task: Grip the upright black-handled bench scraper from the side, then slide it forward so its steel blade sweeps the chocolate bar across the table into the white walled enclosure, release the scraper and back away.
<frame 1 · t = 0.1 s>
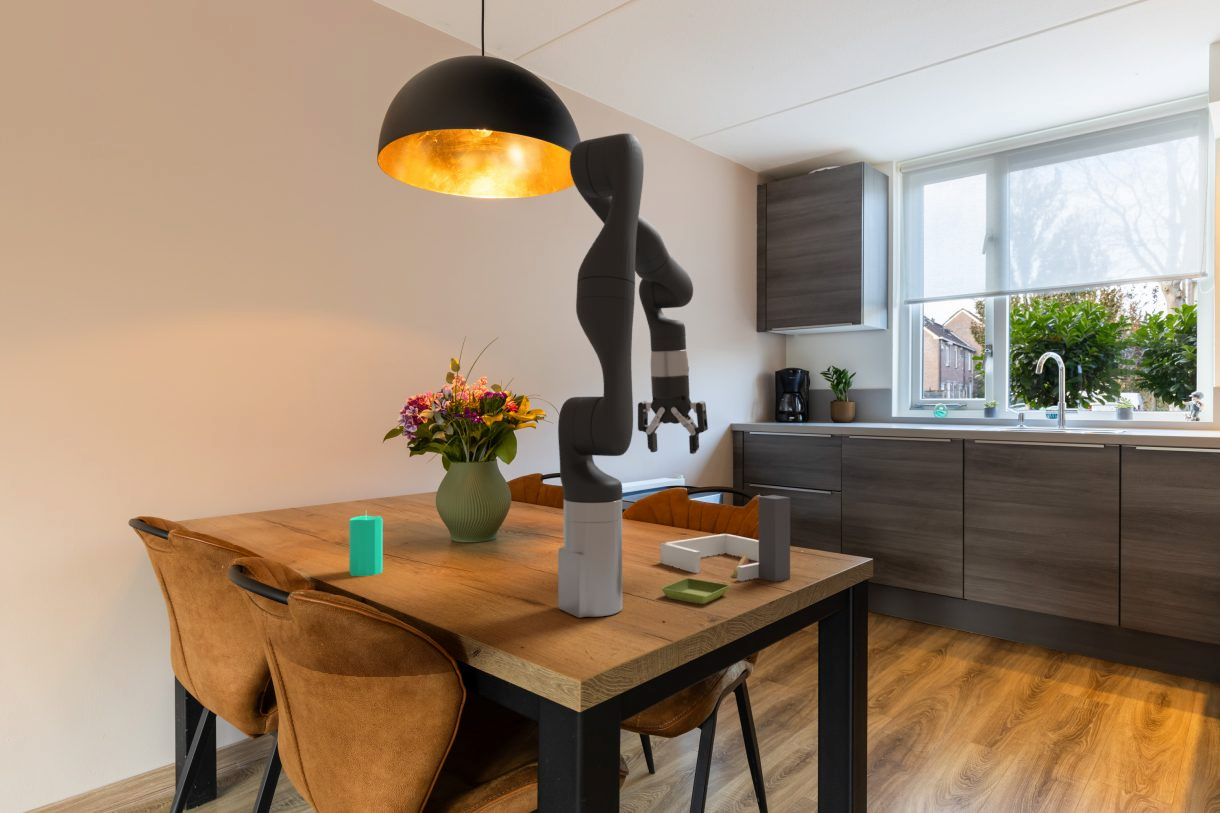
hand: (673, 452, 141), 22 cm above the table, tool pointing down, fingers open, 8 cm apart
chocolate bar: (740, 572, 134), on the table
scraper: (774, 578, 127), on the table
white walled enclosure: (711, 561, 141), on the table
green square dish: (695, 600, 115), on the table
candle: (366, 573, 132), on the table
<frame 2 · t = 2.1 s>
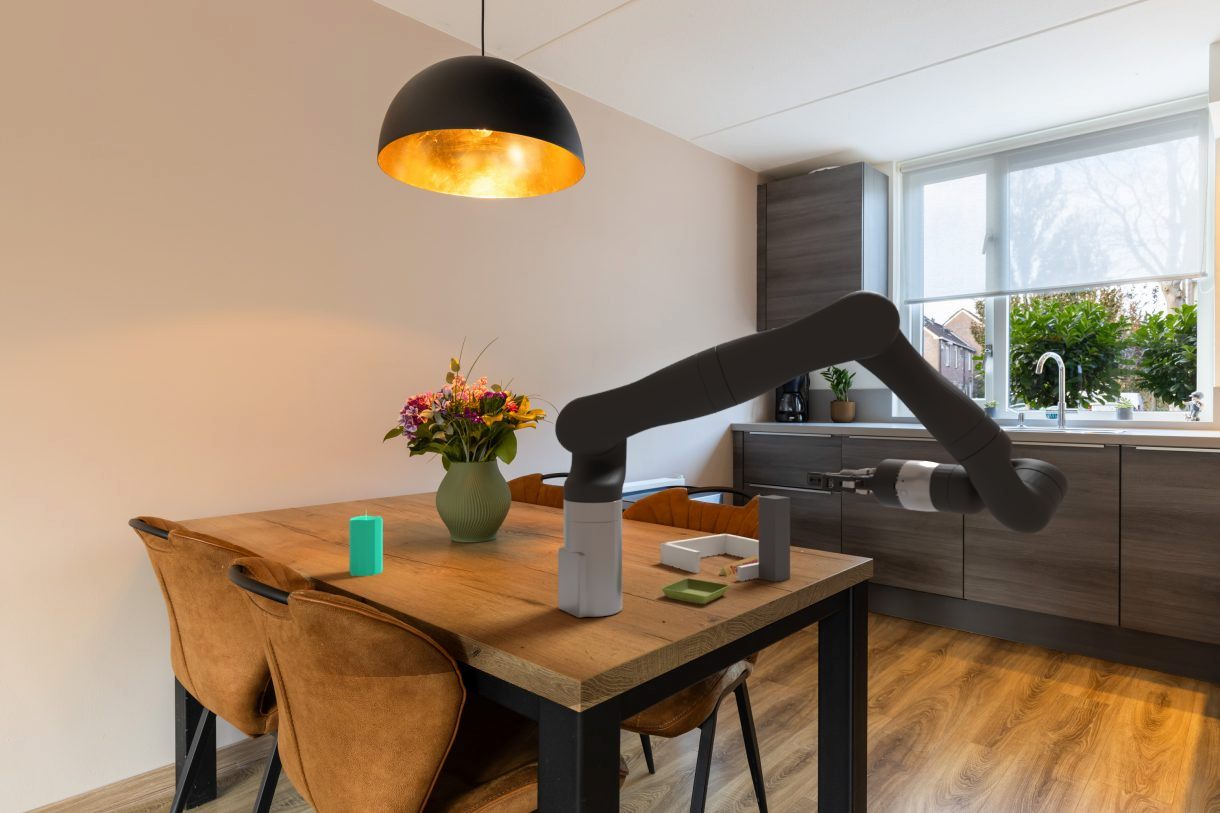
hand: (824, 476, 118), 20 cm above the table, tool horizontal, fingers open, 8 cm apart
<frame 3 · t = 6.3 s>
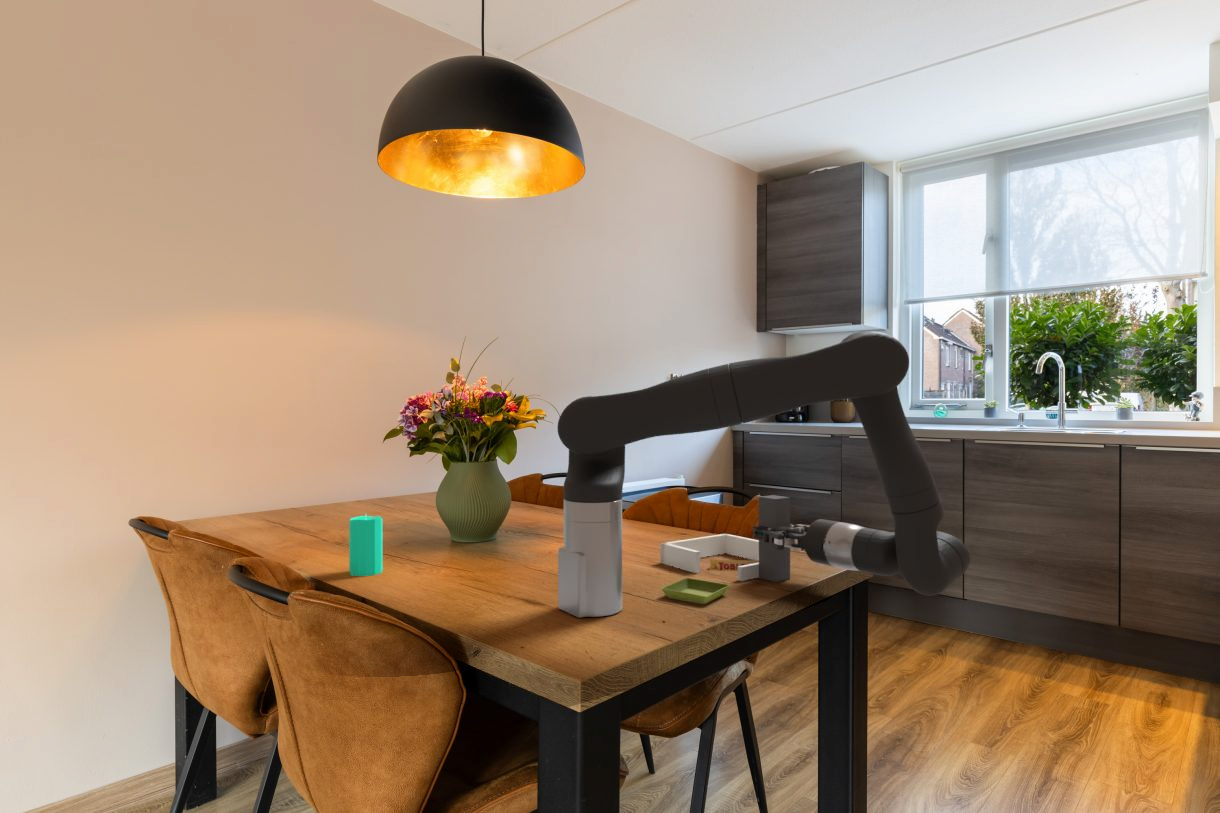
hand: (762, 529, 130), 9 cm above the table, tool horizontal, fingers closed on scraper, 4 cm apart
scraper: (774, 578, 127), on the table, touching gripper
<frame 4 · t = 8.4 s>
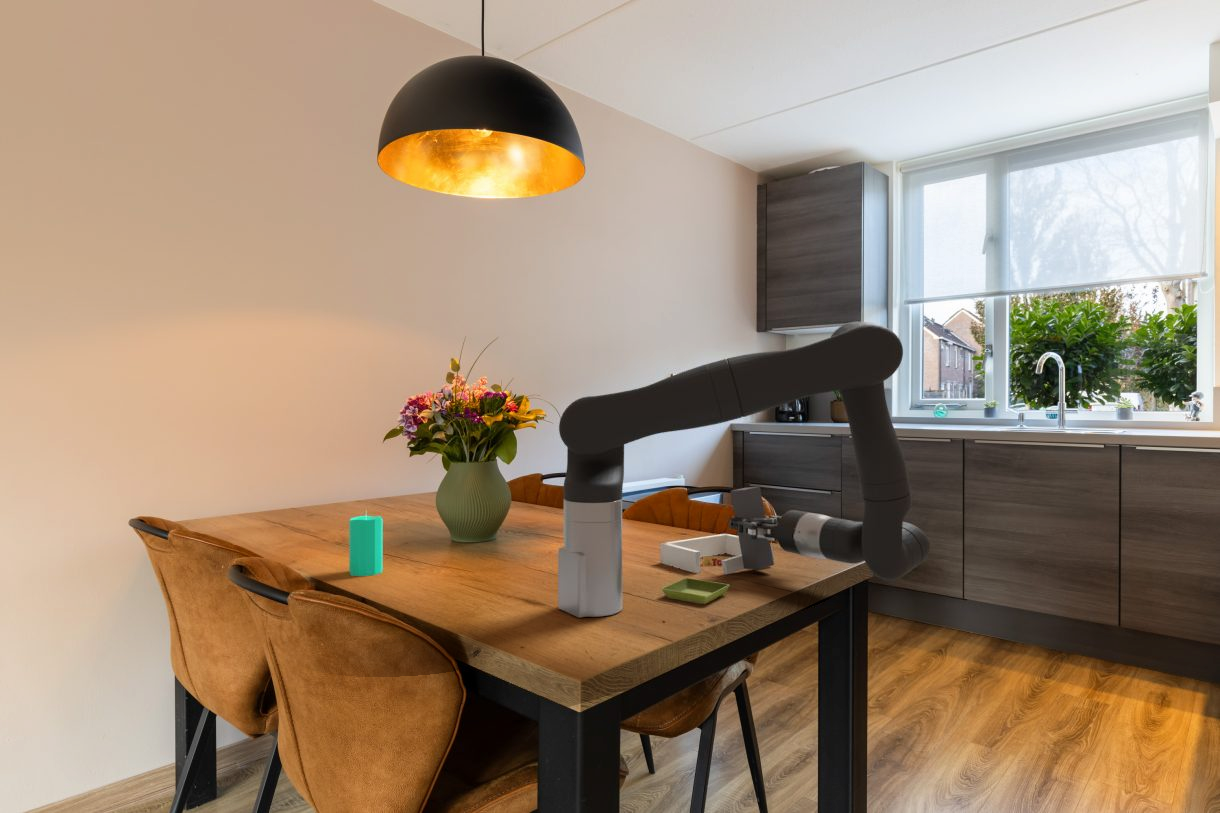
hand: (739, 521, 135), 9 cm above the table, tool horizontal, fingers closed on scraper, 4 cm apart
chocolate bar: (733, 569, 138), on the table
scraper: (759, 566, 131), point 1 cm above the table, tilted 10°, touching gripper
everything else where it was.
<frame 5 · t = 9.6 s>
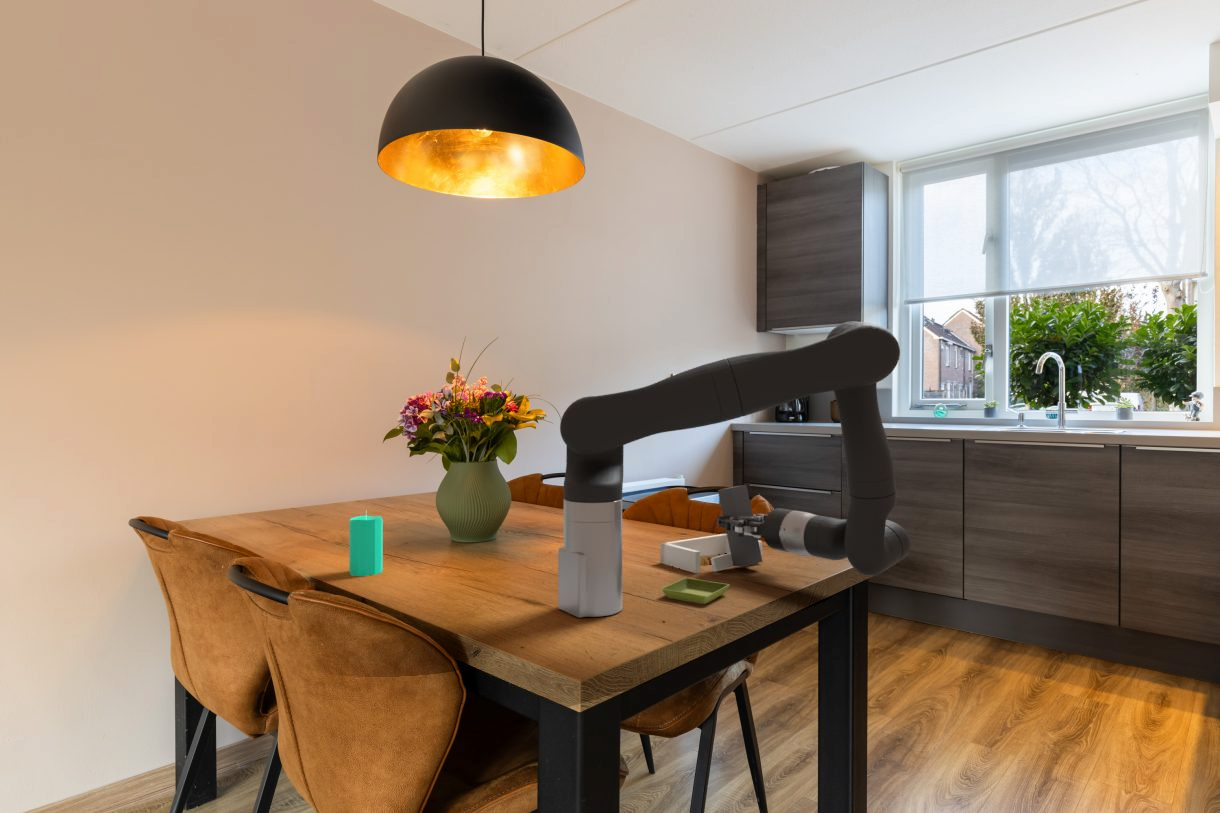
hand: (727, 519, 137), 9 cm above the table, tool horizontal, fingers closed on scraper, 4 cm apart
chocolate bar: (727, 566, 139), on the table
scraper: (747, 563, 134), point 1 cm above the table, tilted 13°, touching gripper
everything else where it was.
when the fingers open (9 cm above the table, at t = 10.5 s): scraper stays where it is, on the table.
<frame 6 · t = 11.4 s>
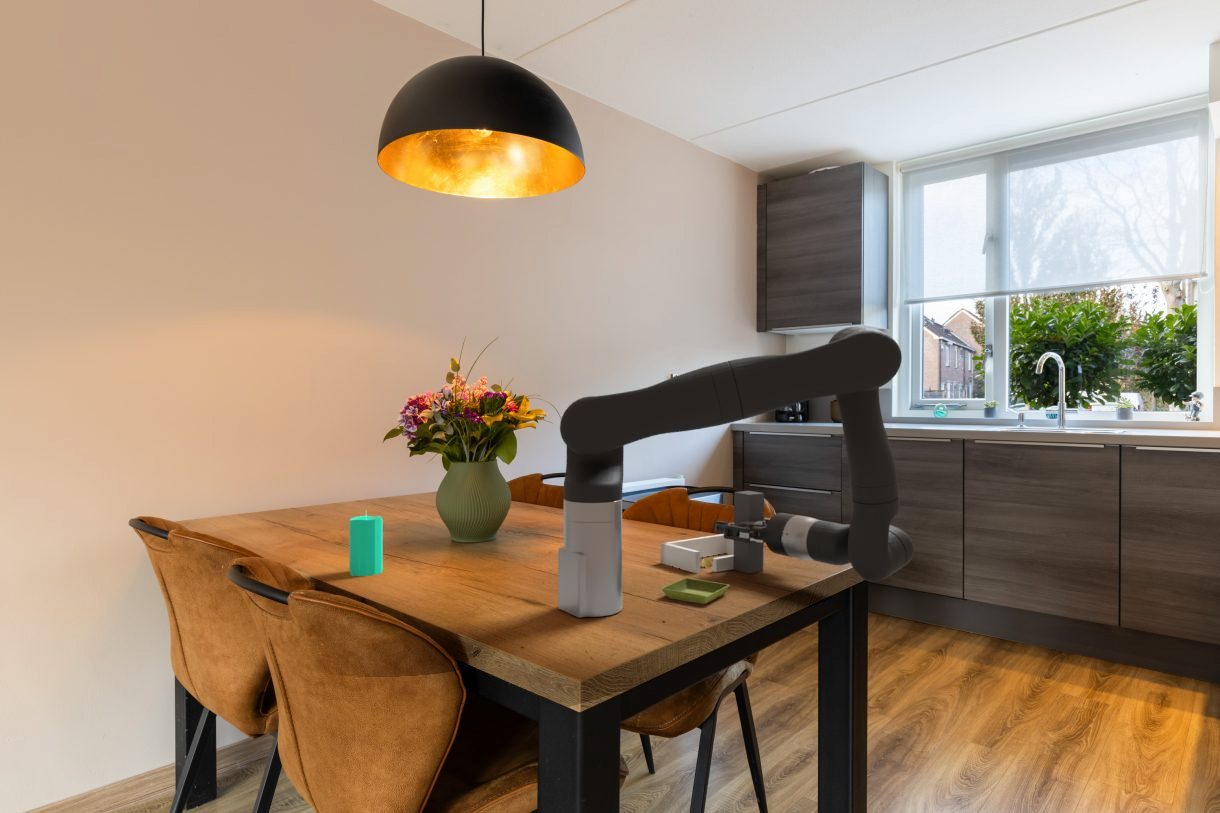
hand: (732, 524, 136), 8 cm above the table, tool horizontal, fingers open, 8 cm apart
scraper: (748, 569, 134), on the table
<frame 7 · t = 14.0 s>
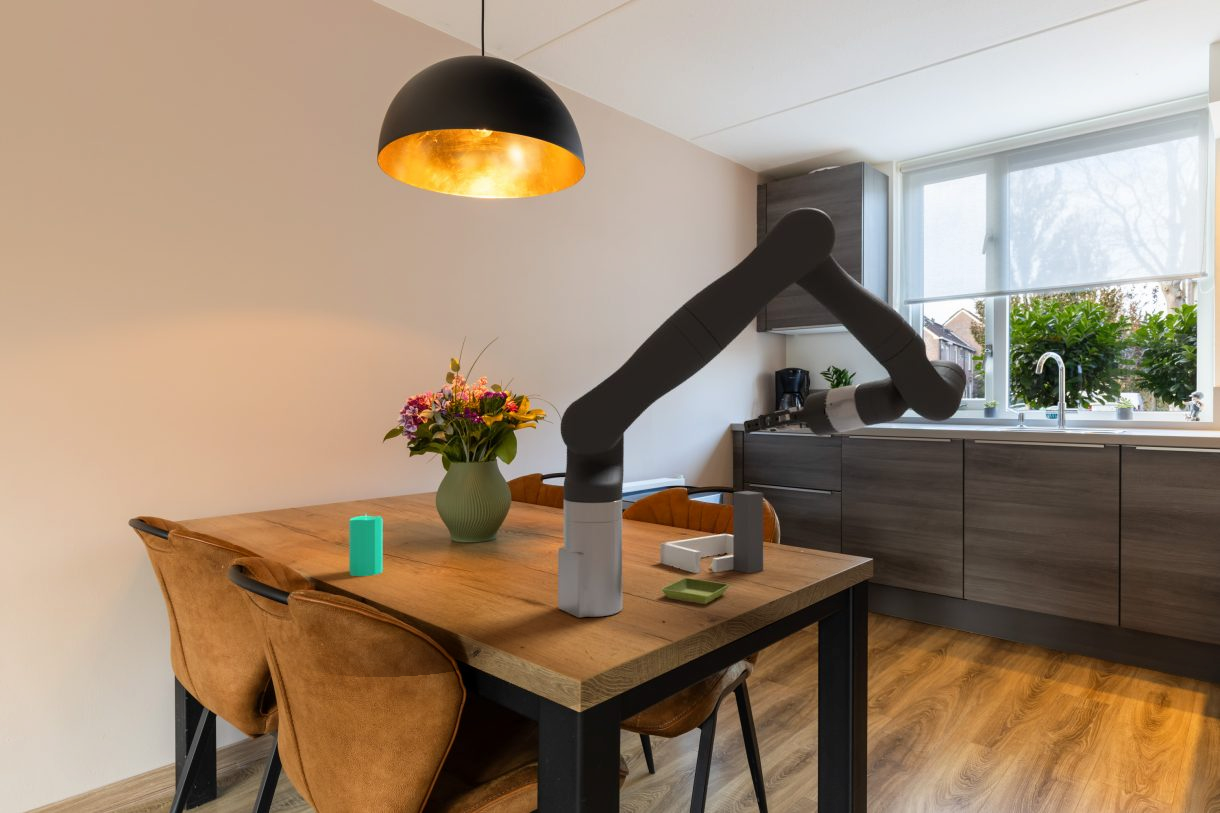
hand: (758, 426, 129), 28 cm above the table, tool horizontal, fingers open, 8 cm apart
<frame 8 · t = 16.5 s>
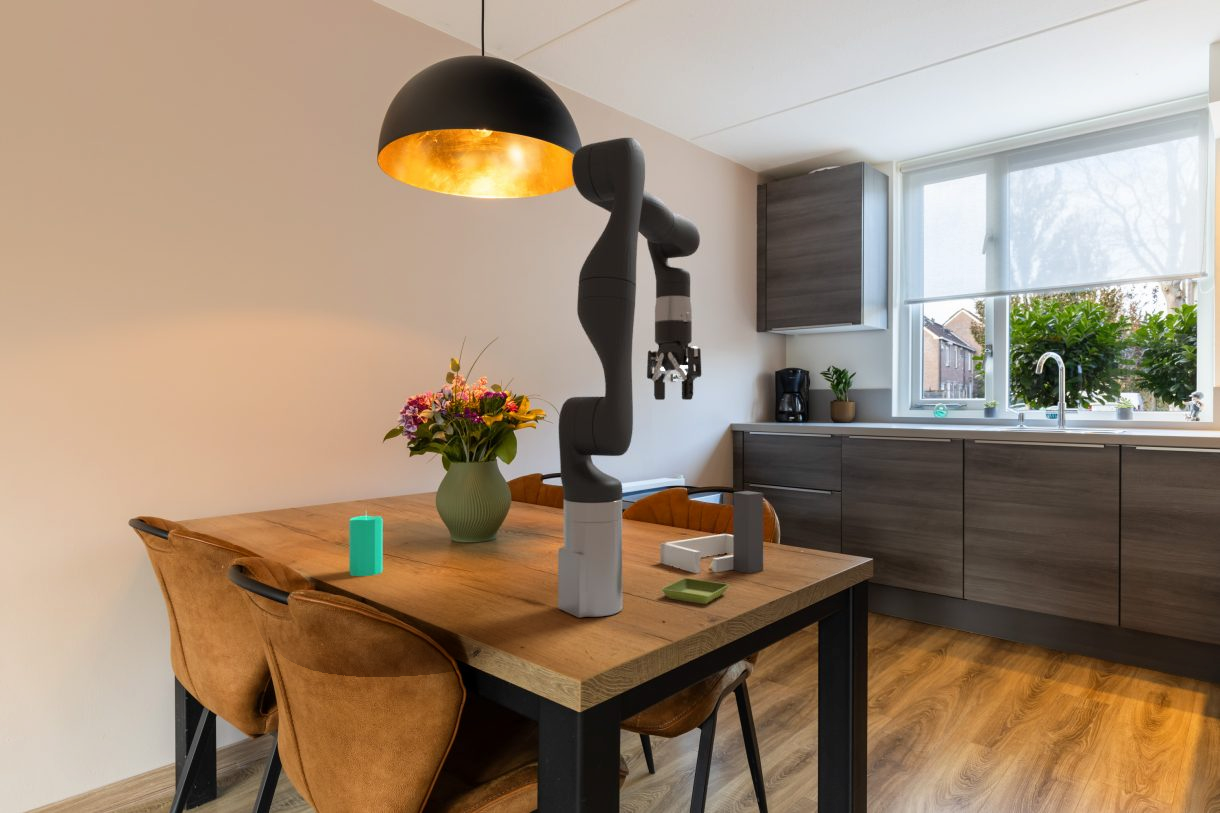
hand: (673, 399, 141), 33 cm above the table, tool pointing down, fingers open, 8 cm apart
at the end: chocolate bar inside the target area on the white walled enclosure (3.0 cm from its centre), point -0.7 cm above the white walled enclosure's base; the gripper is holding nothing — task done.
